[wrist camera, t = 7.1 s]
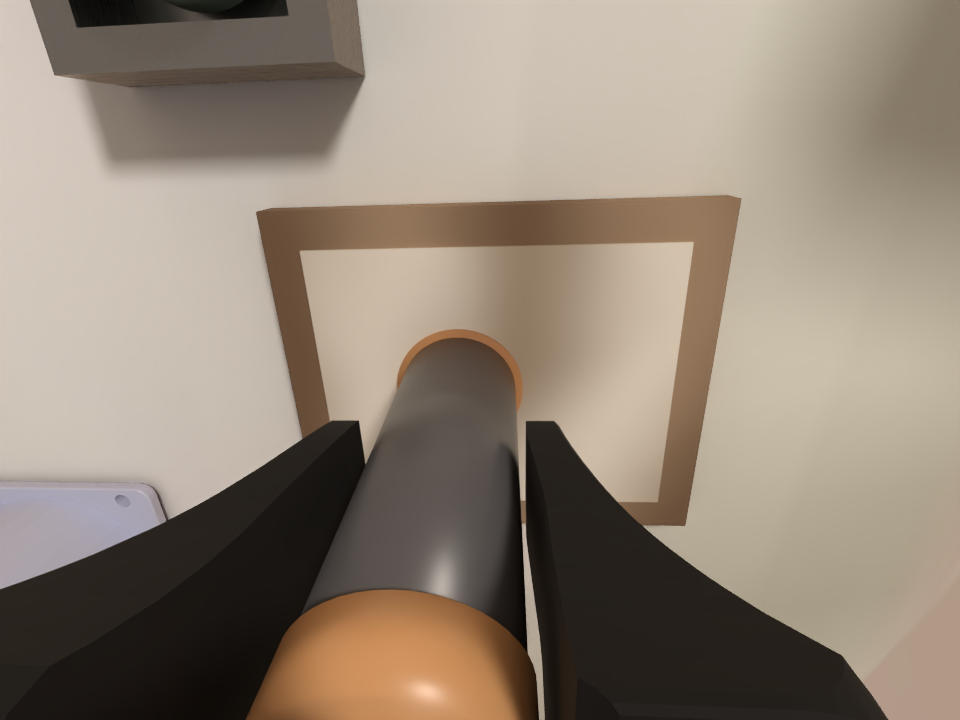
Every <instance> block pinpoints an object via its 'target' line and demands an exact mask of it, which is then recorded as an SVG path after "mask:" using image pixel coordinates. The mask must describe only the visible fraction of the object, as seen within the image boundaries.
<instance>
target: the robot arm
mask: <svg viewBox="0 0 960 720" xmlns="http://www.w3.org/2000/svg"><path fill="white" fill-rule="evenodd" d="M365 465H366V464H365V457H364V451H363V444H362V438H361V431H360V424H359V421H354V420H332V421H330V422H329V423H327V424H325V425H323V426H322V427H320V428H319V429H317V430H315V431H314V432H312V433H311V434H309V435H308V436H306V437H305V438H303V439H302V440H301V441H299V442H298V443H296V444H295V445H293V446H292V447H290V448H289V449H287V450H286V451H284V452H283V453H281V454H280V455H278V456H277V457H275V458H274V459H272V460H271V461H269V462H268V463H266V464H265V465H263V466H262V467H260V468H259V469H257V470H255V471H254V472H252V473H251V474H249V475H247V476H246V477H244V478H243V479H241V480H239V481H238V482H236V483H234V484H233V485H231V486H230V487H228V488H226V489H225V490H223V491H221V492H220V493H218V494H216V495H215V496H213V497H211V498H209V499H208V500H206V501H204V502H202V503H200V504H199V505H197V506H195V507H193V508H191V509H189V510H187V511H185V512H183V513H181V514H180V515H178V516H176V517H174V518H172V519H170V520H168V521H166V519H165V516H164V513H163V511H162V508H161V505H160V502H159V500H158V497H157V494H156V492H155V491H154V490H153V489H152V488H151V487H150V486H148V485H146V484H141V483H85V482H0V720H246V718H247V716H248V713H249V711H250V709H251V707H252V705H253V702H254V700H255V698H256V696H257V693H258V691H259V689H260V687H261V684H262V682H263V680H264V678H265V675H266V673H267V671H268V669H269V667H270V664H271V662H272V660H273V658H274V655H275V653H276V651H277V649H278V646H279V644H280V642H281V640H282V638H283V636H284V634H285V633H286V632H287V630H288V629H289V627H290V626H291V625H292V624H293V623H294V622H295V621H296V620H297V619H298V618H299V617H300V616H301V614H302V611H303V609H304V607H305V604H306V602H307V600H308V597H309V595H310V593H311V590H312V588H313V586H314V584H315V581H316V579H317V577H318V574H319V572H320V570H321V567H322V565H323V563H324V560H325V558H326V556H327V553H328V551H329V549H330V546H331V544H332V542H333V539H334V537H335V535H336V532H337V530H338V528H339V525H340V523H341V521H342V518H343V516H344V514H345V511H346V509H347V507H348V504H349V502H350V500H351V498H352V495H353V493H354V491H355V488H356V486H357V484H358V481H359V479H360V477H361V474H362V472H363V470H364V467H365ZM525 500H526V537H527V546H528V553H529V561H530V568H531V576H532V583H533V590H534V598H535V605H536V612H537V620H538V627H539V634H540V643H541V653H542V666H543V687H544V707H545V720H888V719H887V717H886V716H885V714H884V713H883V711H882V710H881V708H880V707H879V705H878V704H877V702H876V701H875V699H874V698H873V696H872V695H871V694H870V692H869V691H868V689H867V688H866V687H865V686H864V684H863V683H862V682H861V680H860V679H859V678H858V676H857V675H856V674H855V673H854V671H853V670H852V669H851V667H850V666H849V664H848V663H847V662H846V660H845V659H844V658H843V656H842V655H840V654H838V653H836V652H834V651H832V650H831V649H829V648H827V647H825V646H823V645H822V644H820V643H818V642H816V641H814V640H812V639H811V638H809V637H807V636H805V635H803V634H801V633H800V632H798V631H796V630H794V629H792V628H791V627H789V626H787V625H785V624H783V623H781V622H780V621H778V620H776V619H774V618H772V617H771V616H769V615H767V614H765V613H764V612H762V611H760V610H759V609H757V608H755V607H754V606H752V605H751V604H749V603H747V602H746V601H744V600H743V599H741V598H739V597H738V596H736V595H735V594H733V593H732V592H730V591H728V590H727V589H725V588H724V587H722V586H721V585H719V584H718V583H716V582H715V581H713V580H712V579H710V578H709V577H707V576H706V575H704V574H703V573H702V572H700V571H699V570H697V569H696V568H695V567H693V566H692V565H691V564H689V563H688V562H687V561H685V560H684V559H683V558H681V557H680V556H679V555H677V554H676V553H675V552H673V551H672V550H671V549H669V548H668V547H667V546H665V545H664V544H663V543H662V542H660V541H659V540H658V539H657V538H656V537H654V536H653V535H652V534H651V533H650V532H649V531H647V530H646V529H645V528H644V527H643V526H642V525H641V524H640V523H639V522H637V521H636V520H635V519H634V518H633V517H632V516H631V515H630V514H629V513H628V512H627V511H626V510H625V509H624V508H623V507H622V506H621V505H620V504H619V503H618V502H617V501H616V500H615V498H614V497H613V496H612V495H611V494H610V493H609V492H608V491H607V490H606V489H605V488H604V486H603V485H602V484H601V483H600V482H599V481H598V480H597V478H596V477H595V476H594V475H593V473H592V472H591V471H590V470H589V468H588V467H587V466H586V465H585V463H584V462H583V461H582V459H581V458H580V457H579V455H578V454H577V453H576V451H575V450H574V448H573V447H572V446H571V444H570V443H569V441H568V440H567V438H566V437H565V435H564V433H563V432H562V430H561V428H560V427H559V425H558V424H557V423H556V422H555V421H526V482H525Z"/></svg>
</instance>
